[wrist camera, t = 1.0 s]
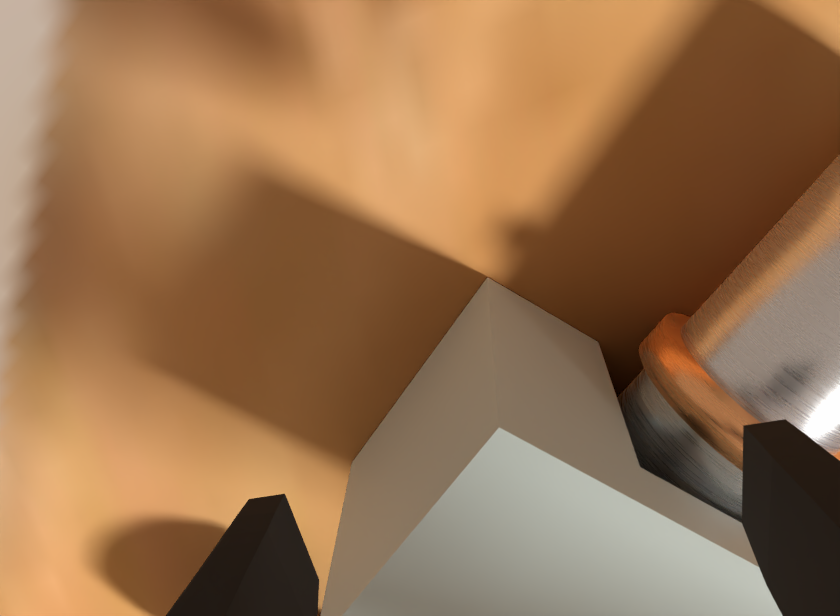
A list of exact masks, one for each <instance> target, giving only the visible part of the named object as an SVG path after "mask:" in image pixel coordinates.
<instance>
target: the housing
mask: <svg viewBox="0 0 840 616" xmlns="http://www.w3.org/2000/svg"><path fill="white" fill-rule="evenodd" d="M320 616H783V615H782V614H781V612H780V610H779V608H778V606H777V604H776V602H775V600H774V599H773V597H772V595H771V593H770V591H769V589H768V587H767V585H766V583H765V580H764V578H763V575H762V573H761V570H760V568H759V566H758V563H757V561H756V558H755V556H754V553H753V551H752V548H751V545H750V543H749V540H748V538H747V535H746V532H745V530H744V527H743V525H742V523H741V522H739V521H737V520H735V519H733V518H732V517H730V516H728V515H726V514H724V513H723V512H721V511H719V510H717V509H715V508H714V507H712V506H710V505H708V504H706V503H704V502H703V501H701V500H699V499H697V498H695V497H694V496H692V495H690V494H688V493H686V492H684V491H683V490H681V489H679V488H677V487H675V486H674V485H672V484H670V483H668V482H666V481H665V480H663V479H661V478H659V477H657V476H655V475H654V474H652V473H650V472H648V471H646V470H645V469H643V468H641V467H640V465H639V462H638V459H637V456H636V453H635V450H634V447H633V444H632V441H631V438H630V435H629V432H628V429H627V426H626V423H625V420H624V417H623V414H622V411H621V408H620V406H619V403H618V400H617V397H616V394H615V391H614V388H613V385H612V382H611V379H610V376H609V373H608V370H607V367H606V364H605V361H604V358H603V355H602V352H601V349H600V346H599V343H598V342H597V341H596V340H594V339H592V338H590V337H589V336H587V335H585V334H584V333H582V332H580V331H579V330H577V329H575V328H573V327H572V326H570V325H568V324H567V323H565V322H563V321H561V320H560V319H558V318H556V317H555V316H553V315H551V314H550V313H548V312H546V311H544V310H543V309H541V308H539V307H538V306H536V305H534V304H533V303H531V302H529V301H527V300H526V299H524V298H522V297H521V296H519V295H517V294H515V293H514V292H512V291H510V290H509V289H507V288H505V287H504V286H502V285H500V284H498V283H497V282H495V281H493V280H492V279H490V278H488V277H487V278H486V280H485V281H484V283H483V284H482V285H481V287H480V288H479V289H478V291H477V292H476V293H475V295H474V296H473V298H472V299H471V300H470V302H469V303H468V304H467V306H466V307H465V309H464V310H463V311H462V313H461V314H460V315H459V317H458V318H457V319H456V321H455V322H454V324H453V325H452V326H451V328H450V329H449V330H448V332H447V333H446V335H445V336H444V337H443V339H442V340H441V341H440V343H439V344H438V345H437V347H436V348H435V350H434V351H433V352H432V354H431V355H430V356H429V358H428V359H427V361H426V362H425V363H424V365H423V366H422V367H421V369H420V370H419V371H418V373H417V374H416V376H415V377H414V378H413V380H412V381H411V382H410V384H409V385H408V387H407V388H406V389H405V391H404V392H403V393H402V395H401V396H400V397H399V399H398V400H397V402H396V403H395V404H394V406H393V407H392V408H391V410H390V411H389V413H388V414H387V415H386V417H385V418H384V419H383V421H382V422H381V423H380V425H379V426H378V428H377V429H376V430H375V432H374V433H373V434H372V436H371V437H370V439H369V440H368V441H367V443H366V444H365V445H364V447H363V448H362V449H361V451H360V452H359V454H358V455H357V456H356V458H355V459H354V460H353V462H352V464H351V469H350V474H349V479H348V484H347V489H346V493H345V498H344V503H343V508H342V513H341V518H340V523H339V528H338V532H337V537H336V542H335V547H334V552H333V557H332V562H331V567H330V572H329V576H328V581H327V586H326V591H325V596H324V601H323V606H322V611H321V615H320Z"/></svg>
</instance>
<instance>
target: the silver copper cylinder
mask: <svg viewBox="0 0 840 616" xmlns="http://www.w3.org/2000/svg"><path fill="white" fill-rule="evenodd" d="M639 357H640V360H641V362H642V365H643V367H644V369H643V370H642V371H641V372H640V374H639V375H638V376H637V377H636V378H635V379H634V380H633V381H632V382H631V383H630V385H629V386H628V387H627V388H626V389H625V390H624V391H623V392H622V393H621V394H620V395H619V397H618V398H617V400H618V403H619V406H620V408H621V411H622V414H623V417H624V420H625V423H626V426H627V429H628V432H629V435H630V438H631V441H632V444H633V447H634V450H635V453H636V456H637V459H638V462H639V465H640V467H641V468H643V469H645V470H646V471H648V472H650V473H652V474H654V475H655V476H657V477H659V478H661V479H663V480H665V481H666V482H668V483H670V484H672V485H674V486H675V487H677V488H679V489H681V490H683V491H684V492H686V493H688V494H690V495H692V496H694V497H695V498H697V499H699V500H701V501H703V502H704V503H706V504H708V505H710V506H712V507H714V508H715V509H717V510H719V511H721V512H723V513H724V514H726V515H728V516H730V517H732V518H733V519H735V520H737V521H739V522H741V523H742V479H743V425H750V424H757V423H764V422H770V421H777V420H784V419H786V420H787V421H788V422H790V423H791V424H793V425H794V426H795V427H797V428H798V429H799V430H801V431H802V432H803V433H804V434H806V435H807V436H808V437H810V438H811V439H812V440H814V441H815V442H816V443H817V444H819V445H820V446H821V447H823V448H824V449H825V450H827V451H828V452H829V453H830V454H832V455H833V456H834V457H836V458H837V459H838V460H840V154H839V155H838V156H837V158H836V159H835V160H834V161H833V162H832V163H831V164H830V165H829V166H828V167H827V169H826V170H825V171H824V172H823V173H822V174H821V175H820V176H819V177H818V178H817V179H816V181H815V182H814V183H813V184H812V185H811V186H810V187H809V188H808V189H807V190H806V192H805V193H804V194H803V195H802V196H801V197H800V198H799V199H798V200H797V201H796V202H795V204H794V205H793V206H792V207H791V208H790V209H789V210H788V211H787V212H786V213H785V215H784V216H783V217H782V218H781V219H780V220H779V221H778V222H777V223H776V224H775V226H774V227H773V228H772V229H771V230H770V231H769V232H768V233H767V234H766V235H765V236H764V238H763V239H762V240H761V241H760V242H759V243H758V244H757V245H756V246H755V247H754V249H753V250H752V251H751V252H750V253H749V254H748V255H747V256H746V257H745V258H744V260H743V261H742V262H741V263H740V264H739V265H738V266H737V267H736V268H735V269H734V270H733V272H732V273H731V274H730V275H729V276H728V277H727V278H726V279H725V280H724V281H723V283H722V284H721V285H720V286H719V287H718V288H717V289H716V290H715V291H714V292H713V294H712V295H711V296H710V297H709V298H708V299H707V300H706V301H705V302H704V303H703V304H702V306H701V307H700V308H699V309H698V310H697V311H696V312H695V313H694V314H693V315H692V317H689V316H686V315H683V314H679V313H669V314H667V315H666V316H665V317H664V318H663V319H662V320H661V321H660V322H659V323H658V325H657V326H656V327H655V328H654V329H653V330H652V331H651V332H650V334H649V335H648V336H647V337H646V338H645V339H644V340H643V341H642V343H641V344H640V346H639Z"/></svg>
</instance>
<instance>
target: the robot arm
mask: <svg viewBox="0 0 840 616" xmlns="http://www.w3.org/2000/svg"><path fill="white" fill-rule="evenodd" d="M742 525H743V527H744V530H745V532H746V535H747V538H748V540H749V543H750V545H751V548H752V551H753V553H754V556H755V558H756V561H757V563H758V566H759V568H760V570H761V573H762V575H763V578H764V580H765V583H766V585H767V587H768V589H769V591H770V593H771V595H772V597H773V599H774V600H775V602H776V604H777V606H778V608H779V610H780V612H781V614H782V615H783V616H840V460H838V459H837V458H836V457H834V456H833V455H832V454H830V453H829V452H828V451H827V450H825V449H824V448H823V447H821V446H820V445H819V444H817V443H816V442H815V441H814V440H812V439H811V438H810V437H808V436H807V435H806V434H804V433H803V432H802V431H801V430H799V429H798V428H797V427H795V426H794V425H793V424H791V423H790V422H788V421H787V420H786V419H784V420H777V421H770V422H764V423H757V424H750V425H743V479H742ZM318 590H319V579H318V576H317V574H316V571H315V569H314V566H313V563H312V561H311V558H310V556H309V553H308V551H307V548H306V546H305V543H304V541H303V538H302V536H301V533H300V531H299V528H298V526H297V523H296V521H295V518H294V516H293V513H292V511H291V508H290V506H289V503H288V501H287V498H286V496H285V494H281V495H274V496H267V497H260V498H254V499H249V500H248V501H247V503H246V504H245V505H244V507H243V508H242V510H241V511H240V512H239V514H238V515H237V516H236V518H235V519H234V521H233V522H232V524H231V525H230V526H229V528H228V529H227V531H226V532H225V534H224V535H223V536H222V538H221V539H220V541H219V542H218V544H217V545H216V547H215V548H214V549H213V551H212V552H211V554H210V555H209V557H208V558H207V559H206V561H205V562H204V564H203V565H202V567H201V568H200V569H199V571H198V572H197V574H196V575H195V576H194V578H193V579H192V581H191V582H190V583H189V585H188V586H187V587H186V589H185V590H184V592H183V593H182V594H181V596H180V597H179V598H178V600H177V601H176V603H175V604H174V605H173V607H172V608H171V609H170V611H169V612H168V613H167V615H166V616H317V611H318Z"/></svg>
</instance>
